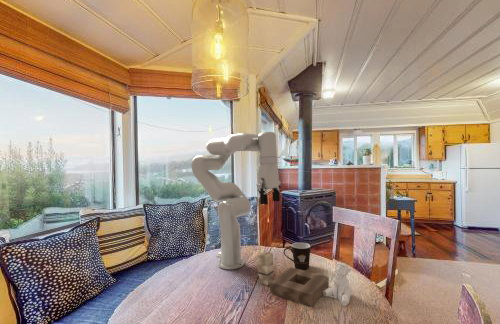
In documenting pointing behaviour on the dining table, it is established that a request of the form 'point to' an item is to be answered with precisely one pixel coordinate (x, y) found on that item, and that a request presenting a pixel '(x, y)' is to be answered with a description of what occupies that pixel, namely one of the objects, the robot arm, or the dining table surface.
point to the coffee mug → (300, 255)
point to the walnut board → (300, 286)
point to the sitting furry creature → (340, 285)
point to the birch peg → (265, 267)
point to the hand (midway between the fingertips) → (270, 202)
